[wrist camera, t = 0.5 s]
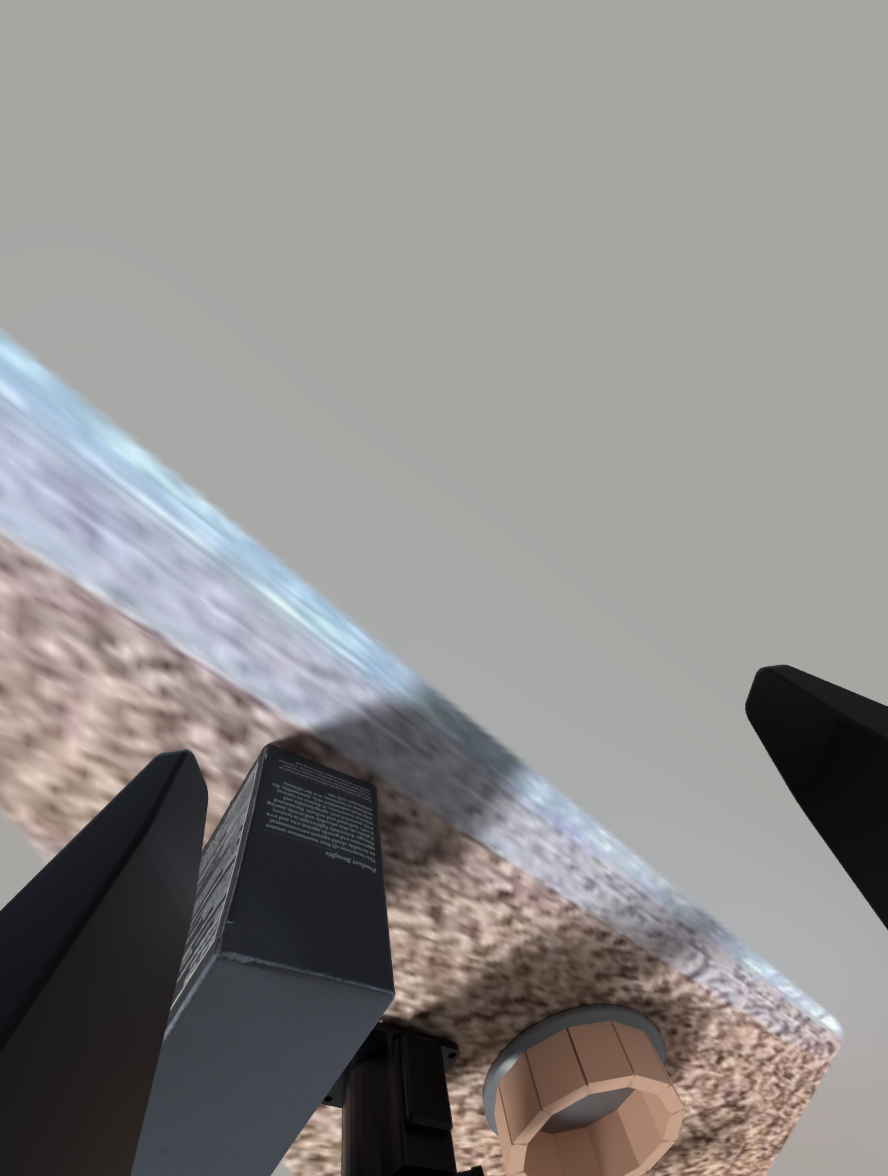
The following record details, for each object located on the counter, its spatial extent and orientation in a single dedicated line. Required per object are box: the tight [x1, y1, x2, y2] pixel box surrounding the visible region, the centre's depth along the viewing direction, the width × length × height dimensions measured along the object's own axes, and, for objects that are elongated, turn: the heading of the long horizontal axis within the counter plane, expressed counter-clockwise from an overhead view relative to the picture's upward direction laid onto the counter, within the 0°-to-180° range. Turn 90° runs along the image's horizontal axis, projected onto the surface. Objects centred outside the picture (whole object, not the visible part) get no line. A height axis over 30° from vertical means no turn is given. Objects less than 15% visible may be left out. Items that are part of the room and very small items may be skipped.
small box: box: [131, 745, 395, 1176], centre depth 21 cm, size 11×6×10 cm, turn 148°
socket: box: [483, 1004, 685, 1176], centre depth 34 cm, size 13×13×4 cm
